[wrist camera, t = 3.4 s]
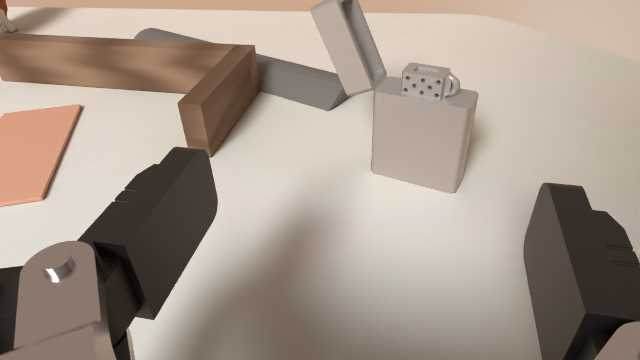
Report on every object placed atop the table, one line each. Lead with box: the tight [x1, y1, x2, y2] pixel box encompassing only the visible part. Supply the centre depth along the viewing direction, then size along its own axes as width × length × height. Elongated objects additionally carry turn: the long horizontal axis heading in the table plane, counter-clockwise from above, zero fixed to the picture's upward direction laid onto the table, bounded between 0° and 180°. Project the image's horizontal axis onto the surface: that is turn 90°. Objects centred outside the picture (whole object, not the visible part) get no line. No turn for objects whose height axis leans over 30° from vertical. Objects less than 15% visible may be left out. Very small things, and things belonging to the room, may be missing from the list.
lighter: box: [311, 0, 478, 193], centre depth 21 cm, size 7×2×8 cm, turn 63°
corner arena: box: [0, 33, 260, 157], centre depth 28 cm, size 19×8×3 cm, turn 78°
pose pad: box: [0, 104, 81, 206], centre depth 25 cm, size 4×10×1 cm, turn 13°
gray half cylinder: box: [134, 28, 349, 111], centre depth 33 cm, size 4×20×2 cm, turn 55°
